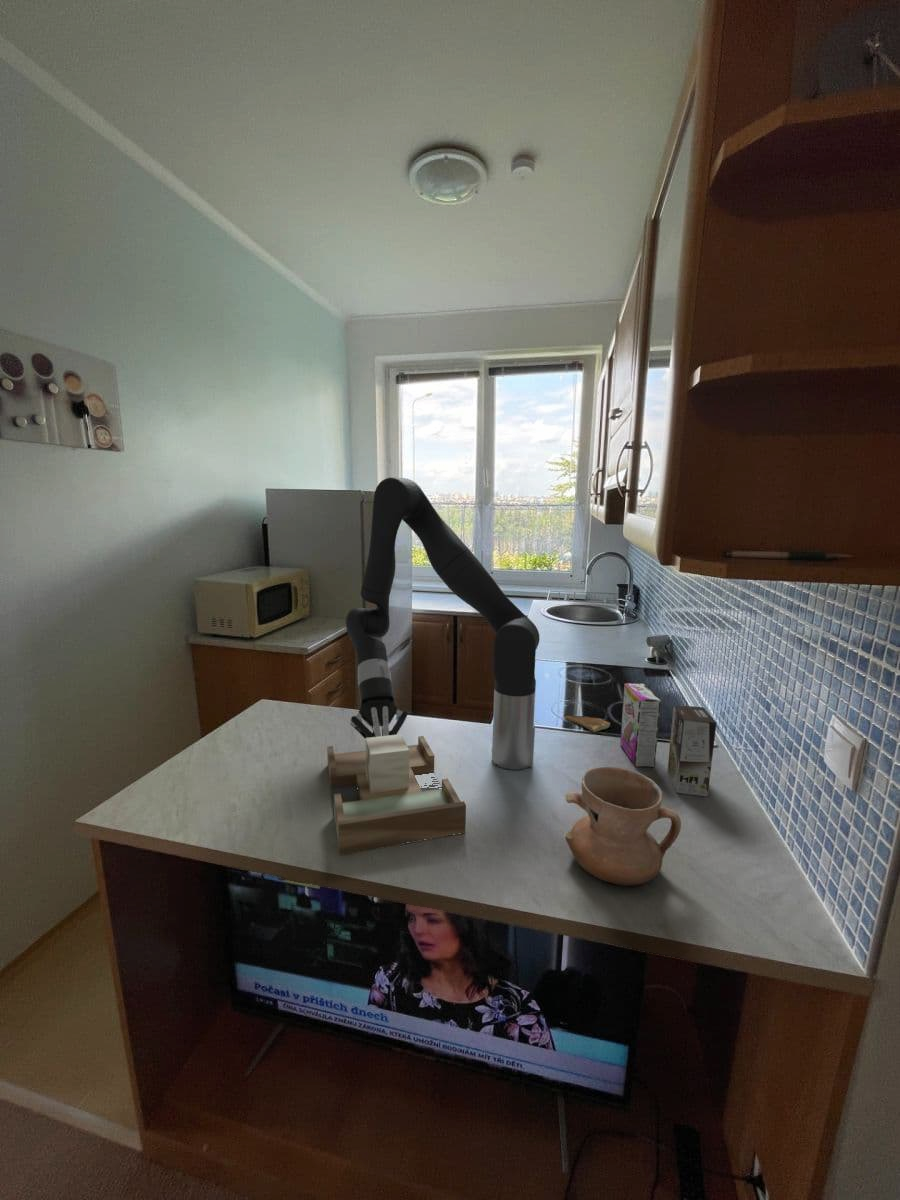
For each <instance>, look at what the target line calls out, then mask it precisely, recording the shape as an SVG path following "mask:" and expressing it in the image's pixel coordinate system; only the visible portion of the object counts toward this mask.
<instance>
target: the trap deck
mask: <svg viewBox="0 0 900 1200" xmlns="http://www.w3.org/2000/svg"><path fill="white" fill-rule="evenodd" d="M417 739H418V740H417V741H418V742H417V744H411V745H410V744H409V745H407V747H408V749H409V788H405V789H397V790H390V791H383V792H376V793H371V792H370V788H369V784H368V780H367V777H366V750H360V751H351V752H342V753H341V752H340V753H335V752H334V750H335V749H334V746H333V745H331V746H327V748H326V749H327V750H326V753H327V769H328V770H327V772H328V771H329V772H328V779H329V778H330V779H329V784H330V786H331V787H330V786H329V787H330V792H331V793H330V794H331V801H332V808H333V809H334V810H333V815H334V816H333V817H334V822H335V823H334V824H335V831H336V837H337V838H336V839H337V846H338V847H337V848H338V854H339V856H343V855H348V853H349V854H354V853H353V852H355V853H360V852H365V850H366V851H372V850H377V849H376V848H378V849H382V848H381V847H384V848H387V846H389V847H394V846H393V845H395V846H398V845H397V844H401V845H403V844H402V843H407V842H412V843H414V842H413V841H418V842H420V841H419V840H424V839H430V838H436V839H438V838H437V837H441V838H443V837H442V836H447V837H449V836H448V835H453V834H459V833H464V834H466V821H467V820H466V819H467V818H466V817H467V804H466V803H465V801H461V799H460V798H459V796H458V794H457V792H456V791H455V788H454V787H453V785H452V784H451V782H450V780H449V779H448V778H442V779H441V782H440V781H439V780H438V781H432V782H439V783H433V784H440V785H441V787H438V788H429V787H435V786H438V785H433V784H432V785H429V787H427V788H420V786H419V784H418V782H417V780H416V778H415V775H422V774H429V773H434V774H435V754H434V752H433V750H432V748H431V747H430V745H429V743H428V742H427V740H426V738H425V737H424V735H421V736H418V738H417ZM431 778H435V777H431ZM437 779H438V778H437ZM437 779H433V780H437ZM425 784H426V783H425ZM424 786H427V785H424ZM421 787H422V786H421ZM357 788H358V789H357ZM439 788H442V789H439ZM459 835H460V834H459ZM453 836H454V835H453ZM430 840H431V839H430ZM424 841H425V840H424ZM407 844H408V843H407ZM371 849H372V850H371ZM359 851H360V852H359ZM342 854H343V855H342Z"/></svg>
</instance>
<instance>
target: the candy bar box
mask: <svg viewBox="0 0 900 1200" xmlns="http://www.w3.org/2000/svg"><path fill="white" fill-rule="evenodd" d="M623 685H624V689H623V700H622V717H621V729H620V742H619V746H620V747H621V748H622V750H623V751H624V753H625V754H626V756H627V757H628V759H629V760H630V761H631V763H632V765H633V766H634V767H638V768H656V756H657V747H658V746H657V745H658V734H659V733H658V732H659V724H660V723H659V722H660V713H661V712H660V710H661V702H662V701H661V699H660V698H659V697H657V695H655V693H654V692H652V690H651V689H649V687H647V686H646V685H645V683H633V682H632V683H630V682H629V683H628V682H626V683H624V684H623Z"/></svg>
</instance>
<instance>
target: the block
mask: <svg viewBox="0 0 900 1200" xmlns="http://www.w3.org/2000/svg"><path fill="white" fill-rule="evenodd" d="M407 746H408V745H407V742H406V741H405V739H404V736H403V734H402V733H399V734H398V733H397V734H396V735H388V736H382V735H381V736H379V737H369V738H366V739H365V751H366V777H367V780H368V784H369V788H370V792H371V793H376V792H383V791H390V790H397V789H405V788H409V749H408V747H407Z"/></svg>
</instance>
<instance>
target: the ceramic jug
mask: <svg viewBox="0 0 900 1200" xmlns="http://www.w3.org/2000/svg"><path fill="white" fill-rule="evenodd" d="M581 791H582V792H581V793H578V792H574V791H571V792H567V793H565V801H566V803H567V804H571V803H572V804H576V805H577V806H578V807H580V808H581V809H583V810H584V811H585V812H587V815H586V816H584V817H582V818H580V819H579V820H576V822H575V823H574V825H573V826H572V828H571V830H570V831H568V832H567V834H566V835H565V840H566V843H567V846H568V847H569V849H570V851H571V853H572V856H573V858H574V859H575V861H576V862H577V863H578V864H579V865H580V866H581V867H582V868H583V869H584V870H585V871H586V872H588V873H589V874H591V875H592V876H594V877H595V878H598V879H599V880H602V881H604V882H607V883H610V884H615V885H620V886H636V885H637V886H638V885H642V884H645V883H648V882H650V881H652V880H653V879H654V878H655V877H656V876H657V875H658V874H659V873H660V871H661V869H662V866H663V859H664V856H665V854H666V852H667V851H668V850H669V848H671V847H672V845H673V844H674V843H675V841H676V840H677V838H678V837H679V835H680V832H681V827H682V821H681V817H680V816H679V814H678V813H677V812H676V811H675V810H674V809H671V808H670V807H669V808H668V807H664V806H663V807H661V805H662V802H663V792H662V789H661V788H660V786H659V785H658V784H657V783H656V782H655V781H654V780H653V779H651V778H649V777H647V776H646V775H644V774H642V773H639V772H637V771H633V770H632V769H628V768H623V767H619V766H610V765H609V766H598V767H594V768H590V769H588V770H587V771H585V772H584V773H583V775H582V778H581ZM665 818H666V819H669V820H670V821H671V823H670V824H671V825H670V828H669V830H668V832H667V834H666V835H665V837H663V840H661V842H660V843H658V841H657V839H656V838H655V837H654V836H653V834H651V833H650V832H649V831H648V829H649V828H650V826H651V825H652V823H654V822H656V821H657V820H660V819H665Z"/></svg>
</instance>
